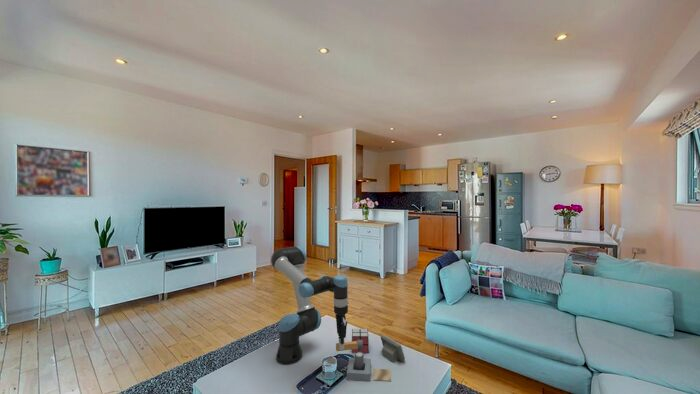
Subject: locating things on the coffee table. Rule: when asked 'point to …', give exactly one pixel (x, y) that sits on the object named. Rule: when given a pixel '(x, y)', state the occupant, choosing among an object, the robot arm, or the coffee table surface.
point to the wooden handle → (351, 345)
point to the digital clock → (391, 349)
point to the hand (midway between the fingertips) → (341, 348)
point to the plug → (359, 361)
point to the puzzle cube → (361, 335)
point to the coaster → (381, 375)
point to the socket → (359, 374)
